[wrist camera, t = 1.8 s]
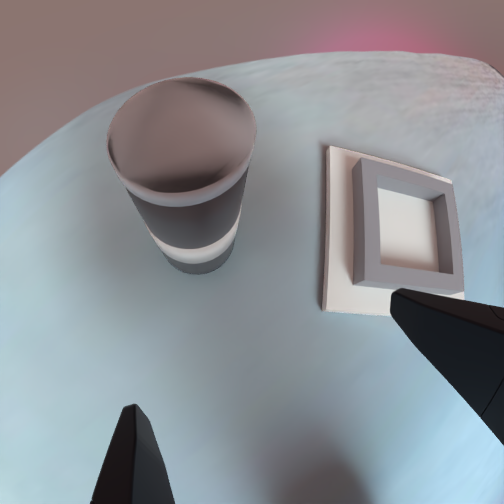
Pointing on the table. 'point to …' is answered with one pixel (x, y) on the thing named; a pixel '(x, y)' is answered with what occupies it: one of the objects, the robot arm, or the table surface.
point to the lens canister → (185, 166)
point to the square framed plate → (387, 233)
